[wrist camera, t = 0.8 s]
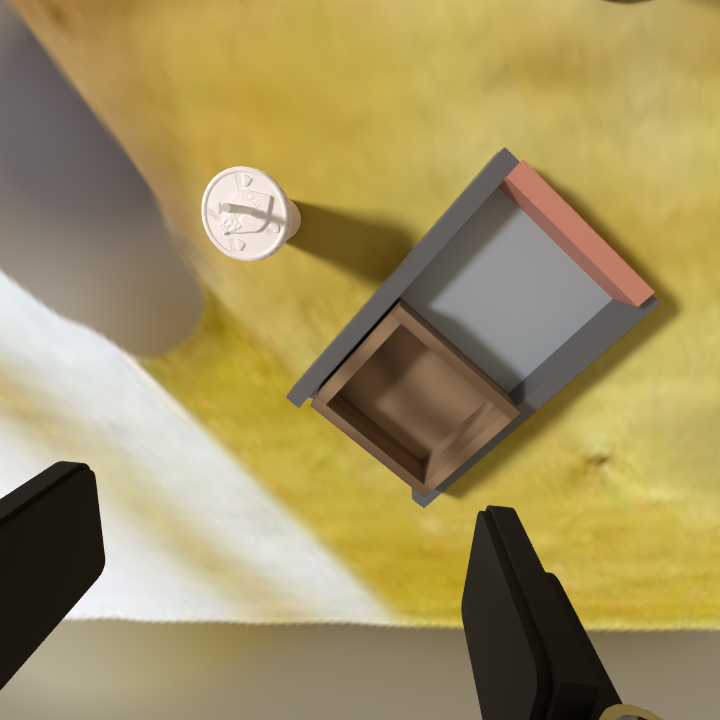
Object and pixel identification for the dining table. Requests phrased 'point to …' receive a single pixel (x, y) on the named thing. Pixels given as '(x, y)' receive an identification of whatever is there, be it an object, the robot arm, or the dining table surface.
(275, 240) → the smoothie
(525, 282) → the bay
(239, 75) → the dining table surface
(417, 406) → the box
